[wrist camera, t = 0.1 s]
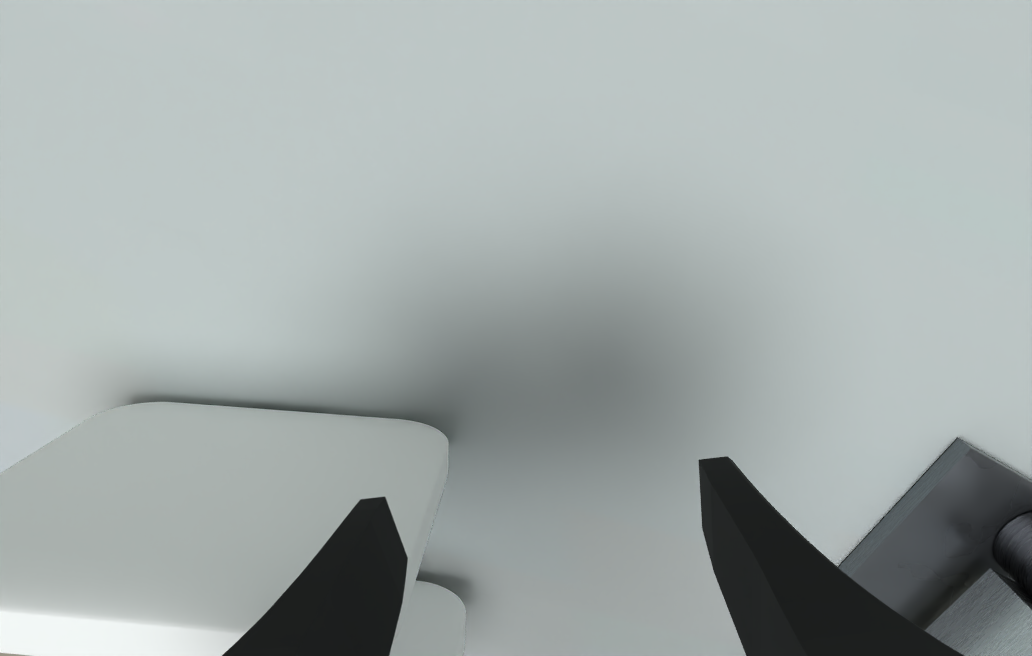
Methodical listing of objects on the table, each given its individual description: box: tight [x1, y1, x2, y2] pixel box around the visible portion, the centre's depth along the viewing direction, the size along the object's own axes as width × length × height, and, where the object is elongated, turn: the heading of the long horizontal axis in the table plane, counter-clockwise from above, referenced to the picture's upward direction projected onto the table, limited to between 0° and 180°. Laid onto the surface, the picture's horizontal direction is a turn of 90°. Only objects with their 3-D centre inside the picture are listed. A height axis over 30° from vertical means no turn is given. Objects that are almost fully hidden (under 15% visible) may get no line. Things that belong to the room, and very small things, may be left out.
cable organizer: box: [0, 402, 466, 656], centre depth 21 cm, size 15×11×12 cm
